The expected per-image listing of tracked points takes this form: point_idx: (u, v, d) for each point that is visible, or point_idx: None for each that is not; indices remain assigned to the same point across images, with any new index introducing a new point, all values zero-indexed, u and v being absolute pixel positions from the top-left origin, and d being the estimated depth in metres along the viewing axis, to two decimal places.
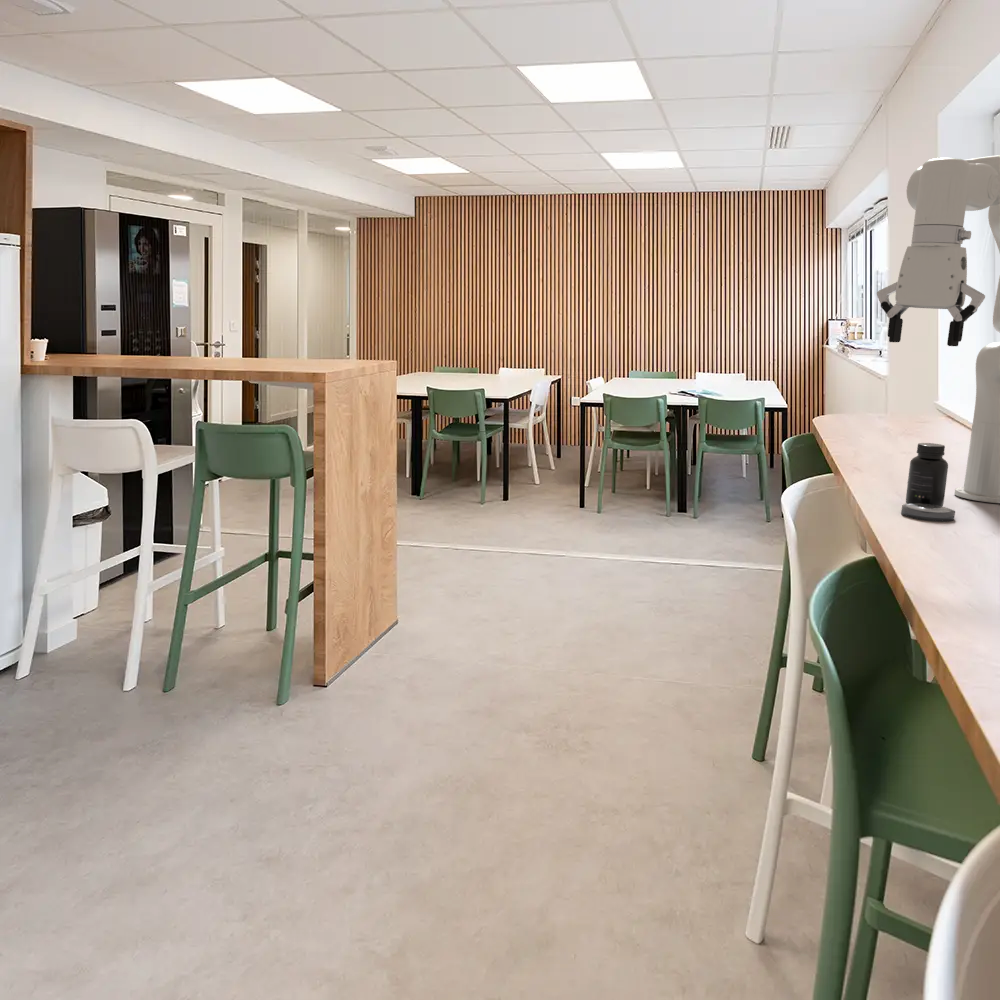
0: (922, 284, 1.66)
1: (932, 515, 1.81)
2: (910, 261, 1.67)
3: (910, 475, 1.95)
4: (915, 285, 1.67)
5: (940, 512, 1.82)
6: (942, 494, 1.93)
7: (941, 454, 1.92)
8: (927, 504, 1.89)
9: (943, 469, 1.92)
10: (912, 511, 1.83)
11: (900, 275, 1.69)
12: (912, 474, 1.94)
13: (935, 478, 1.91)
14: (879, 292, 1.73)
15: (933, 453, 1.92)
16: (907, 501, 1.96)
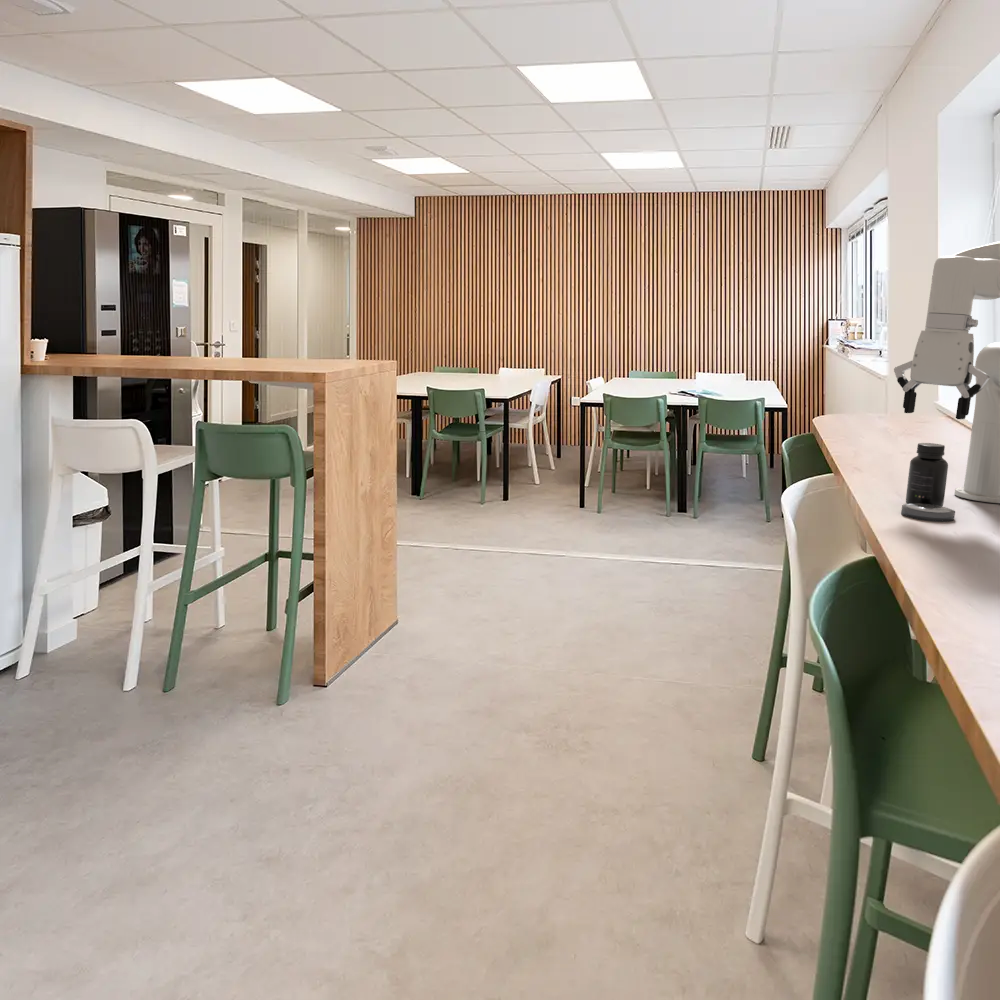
0: (934, 364, 1.89)
1: (932, 515, 1.81)
2: (924, 344, 1.90)
3: (910, 475, 1.95)
4: (928, 364, 1.90)
5: (940, 512, 1.82)
6: (942, 494, 1.93)
7: (941, 454, 1.92)
8: (927, 504, 1.89)
9: (943, 469, 1.92)
10: (912, 511, 1.83)
11: (915, 355, 1.92)
12: (912, 474, 1.94)
13: (935, 478, 1.91)
14: (896, 368, 1.96)
15: (933, 453, 1.92)
16: (907, 501, 1.96)
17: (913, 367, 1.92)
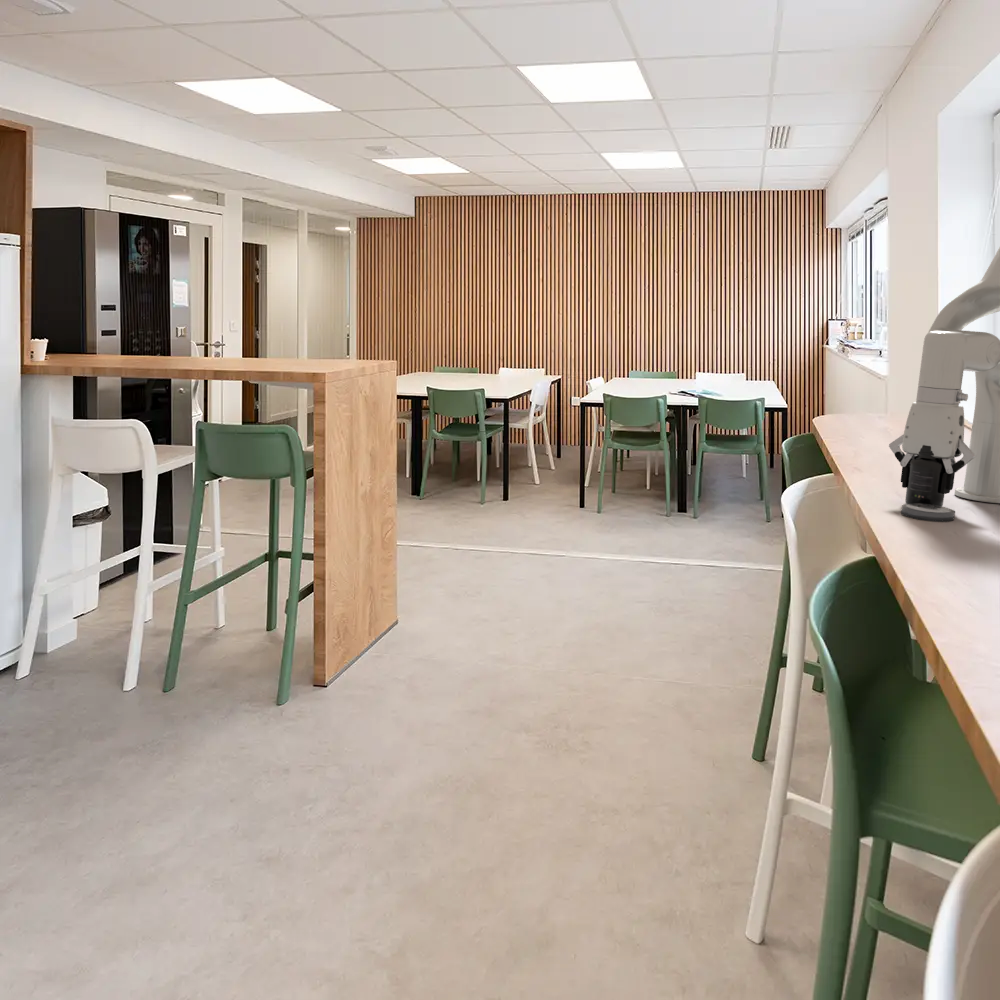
0: (925, 437, 1.92)
1: (932, 515, 1.81)
2: (915, 416, 1.93)
3: (910, 475, 1.95)
4: (919, 437, 1.93)
5: (940, 512, 1.82)
6: (941, 494, 1.93)
7: None
8: (927, 504, 1.89)
9: (943, 468, 1.92)
10: (912, 511, 1.83)
11: (906, 427, 1.94)
12: (912, 474, 1.94)
13: (935, 478, 1.91)
14: (891, 444, 1.98)
15: (933, 453, 1.92)
16: (907, 501, 1.96)
17: (905, 438, 1.95)
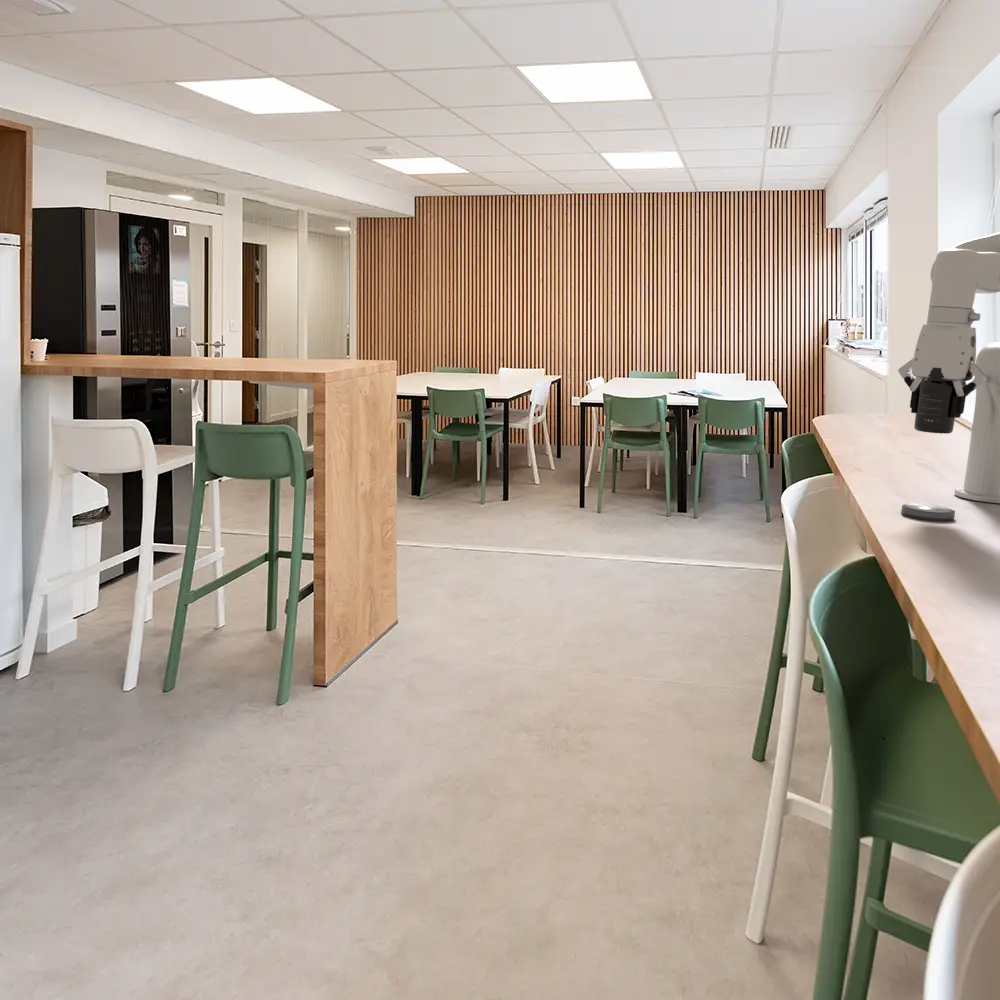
0: (936, 359, 1.87)
1: (932, 515, 1.81)
2: (925, 338, 1.88)
3: (919, 399, 1.89)
4: (930, 359, 1.87)
5: (940, 512, 1.82)
6: (951, 418, 1.87)
7: None
8: (927, 504, 1.89)
9: (953, 391, 1.86)
10: (912, 511, 1.83)
11: (916, 349, 1.89)
12: (921, 398, 1.89)
13: (945, 401, 1.86)
14: (900, 369, 1.93)
15: None
16: (916, 426, 1.90)
17: (914, 362, 1.90)
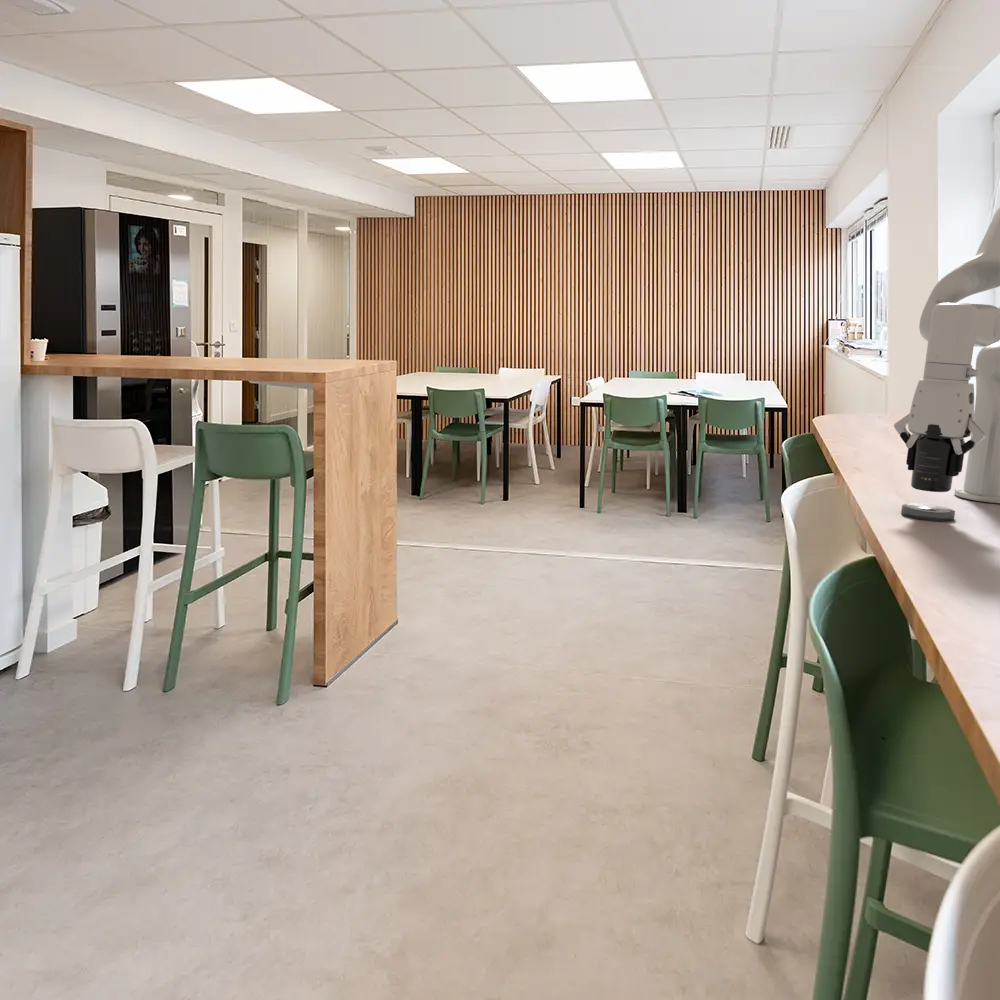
0: (933, 415, 1.81)
1: (932, 515, 1.81)
2: (922, 394, 1.82)
3: (916, 456, 1.83)
4: (927, 415, 1.81)
5: (940, 512, 1.82)
6: (949, 476, 1.81)
7: None
8: (927, 504, 1.89)
9: (951, 449, 1.80)
10: (912, 511, 1.83)
11: (913, 405, 1.83)
12: (918, 455, 1.83)
13: (942, 459, 1.80)
14: (896, 425, 1.87)
15: None
16: (912, 484, 1.84)
17: (911, 418, 1.84)
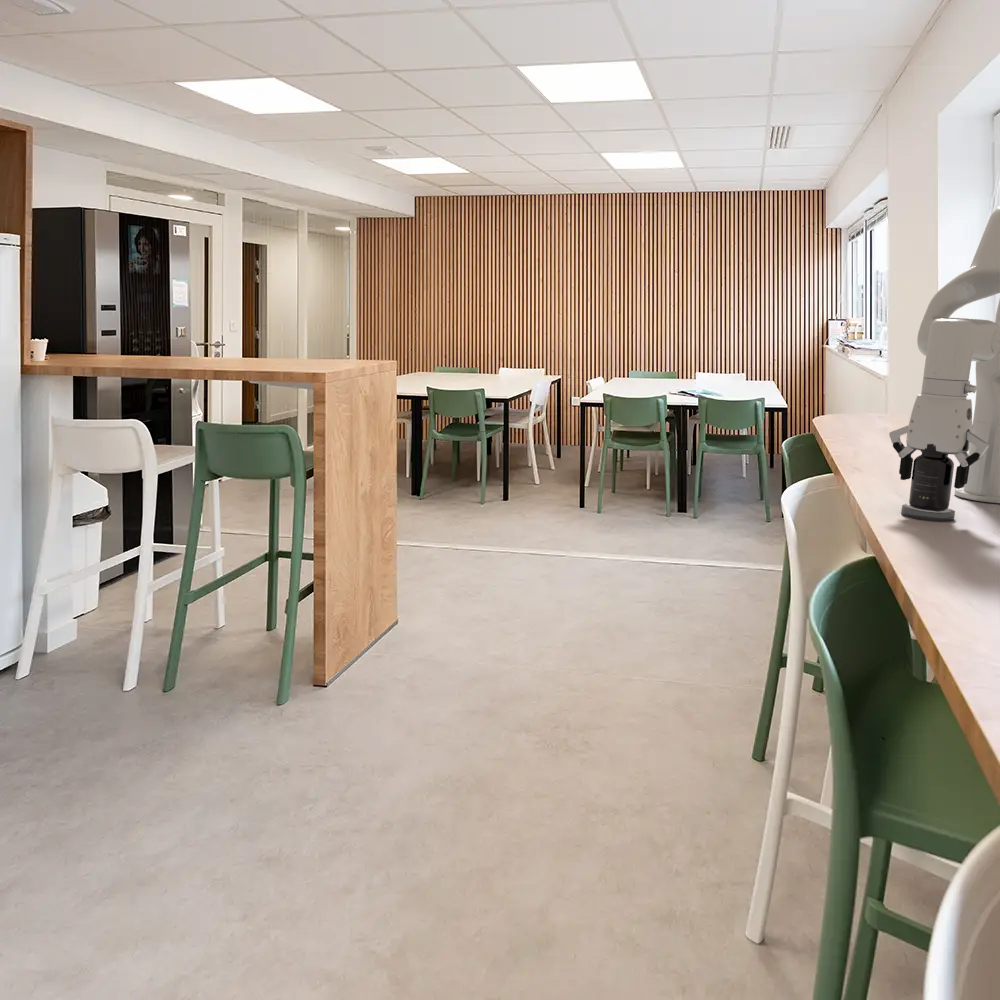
0: (931, 431, 1.81)
1: (932, 515, 1.81)
2: (920, 409, 1.82)
3: (914, 475, 1.84)
4: (925, 431, 1.82)
5: (940, 512, 1.82)
6: (947, 495, 1.82)
7: None
8: None
9: (949, 468, 1.81)
10: (912, 511, 1.83)
11: (911, 421, 1.84)
12: (916, 474, 1.84)
13: (940, 478, 1.81)
14: (891, 433, 1.88)
15: None
16: (911, 502, 1.85)
17: (909, 433, 1.84)
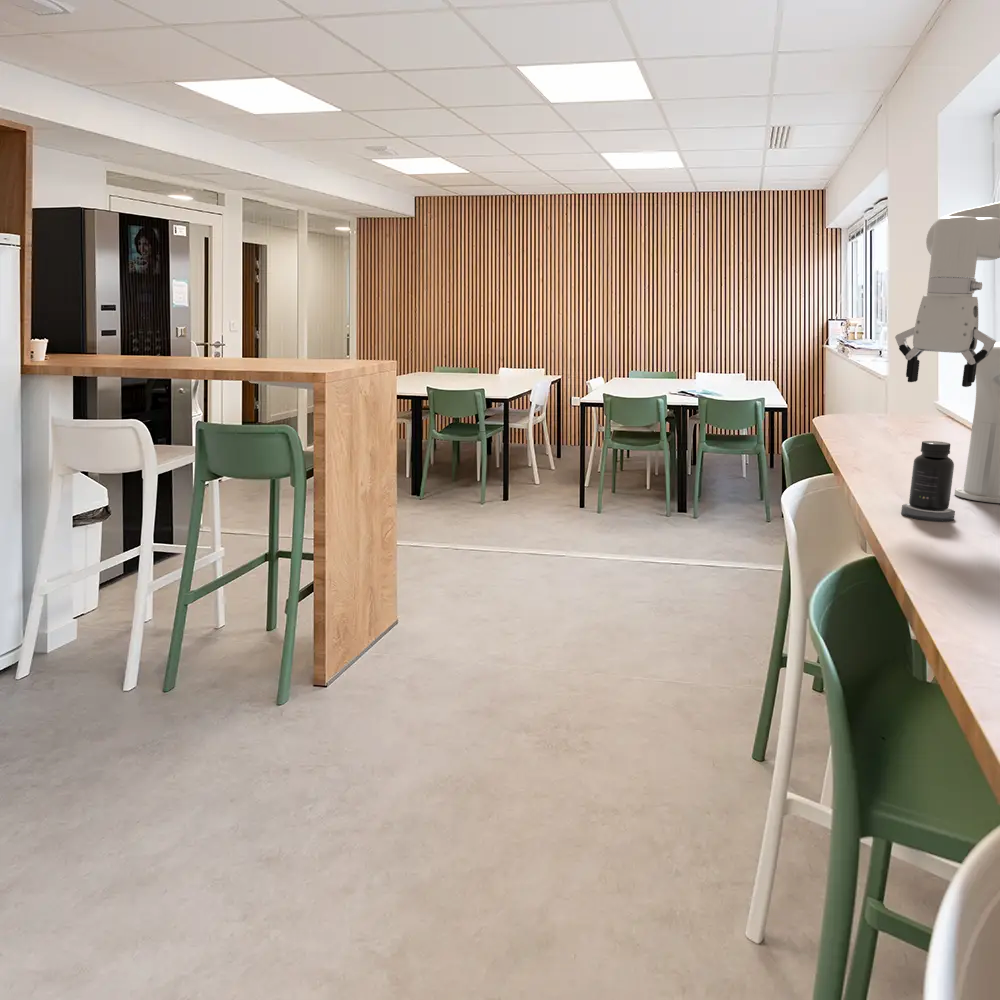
0: (938, 330, 1.82)
1: (932, 515, 1.81)
2: (926, 309, 1.82)
3: (914, 475, 1.84)
4: (931, 331, 1.82)
5: (940, 512, 1.82)
6: (947, 495, 1.82)
7: (947, 453, 1.82)
8: None
9: (949, 468, 1.81)
10: (912, 511, 1.83)
11: (917, 322, 1.84)
12: (916, 474, 1.84)
13: (940, 478, 1.81)
14: (897, 336, 1.88)
15: (938, 452, 1.81)
16: (911, 502, 1.85)
17: (916, 334, 1.84)
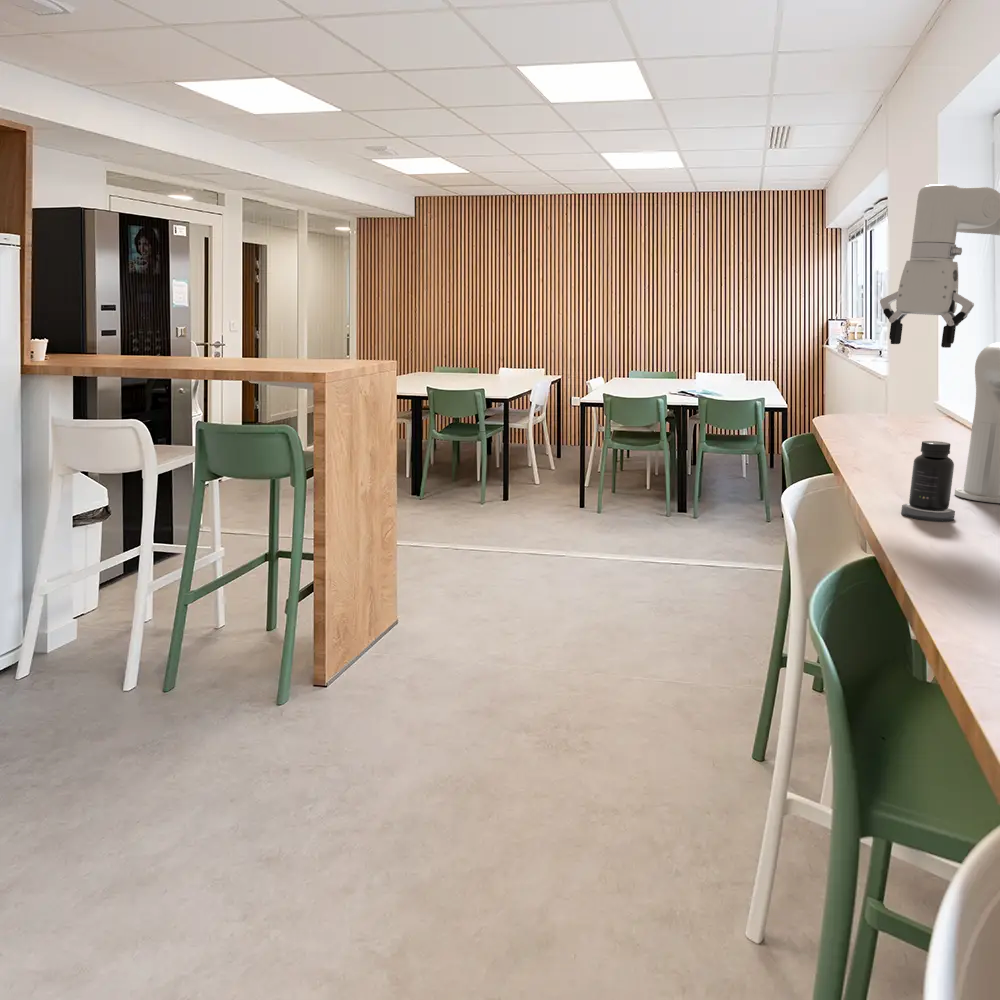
0: (919, 293, 1.91)
1: (932, 515, 1.81)
2: (909, 274, 1.92)
3: (914, 475, 1.84)
4: (913, 294, 1.92)
5: (940, 512, 1.82)
6: (947, 495, 1.82)
7: (947, 453, 1.82)
8: None
9: (949, 468, 1.81)
10: (912, 511, 1.83)
11: (900, 285, 1.93)
12: (916, 474, 1.84)
13: (940, 478, 1.81)
14: (882, 300, 1.98)
15: (938, 451, 1.81)
16: (911, 502, 1.85)
17: (899, 297, 1.94)
